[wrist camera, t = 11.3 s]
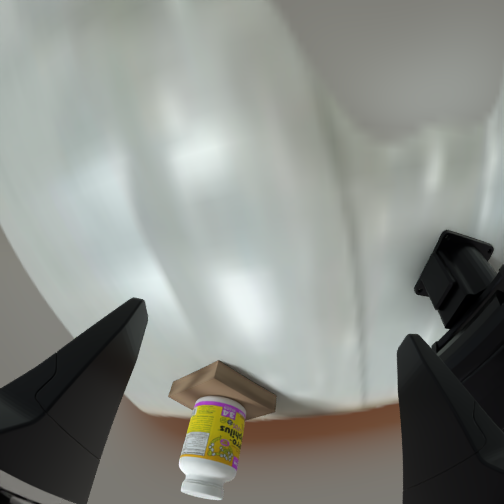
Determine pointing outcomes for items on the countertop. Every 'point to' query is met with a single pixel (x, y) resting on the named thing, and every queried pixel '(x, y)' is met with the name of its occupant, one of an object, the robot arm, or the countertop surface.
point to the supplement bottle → (212, 446)
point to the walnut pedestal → (223, 389)
